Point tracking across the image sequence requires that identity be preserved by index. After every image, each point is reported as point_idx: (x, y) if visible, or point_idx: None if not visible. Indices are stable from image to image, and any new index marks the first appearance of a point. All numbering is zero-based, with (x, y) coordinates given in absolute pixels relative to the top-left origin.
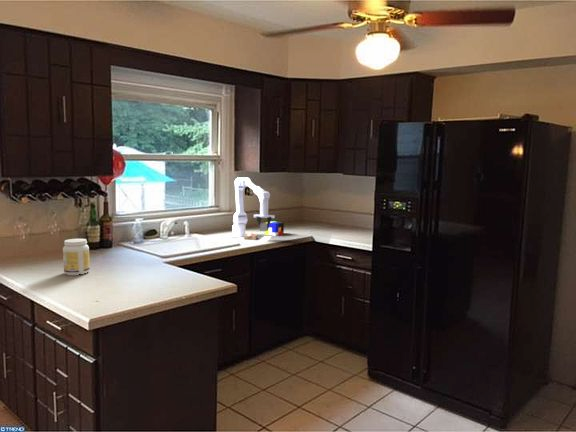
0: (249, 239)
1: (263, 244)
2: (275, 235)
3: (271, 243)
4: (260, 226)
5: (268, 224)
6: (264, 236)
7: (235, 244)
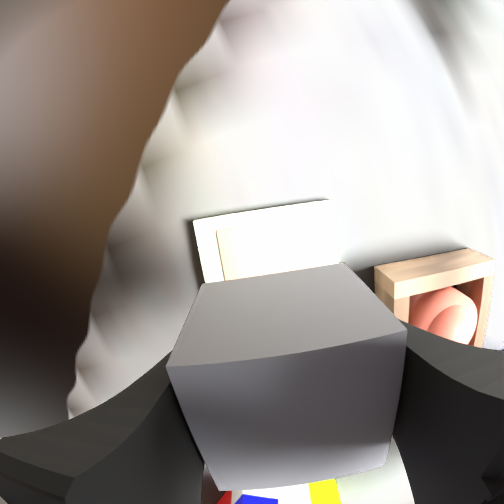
0: (433, 257)
1: (207, 74)
2: None
3: (142, 164)
4: (365, 295)
5: (143, 378)
6: None
7: (455, 30)
